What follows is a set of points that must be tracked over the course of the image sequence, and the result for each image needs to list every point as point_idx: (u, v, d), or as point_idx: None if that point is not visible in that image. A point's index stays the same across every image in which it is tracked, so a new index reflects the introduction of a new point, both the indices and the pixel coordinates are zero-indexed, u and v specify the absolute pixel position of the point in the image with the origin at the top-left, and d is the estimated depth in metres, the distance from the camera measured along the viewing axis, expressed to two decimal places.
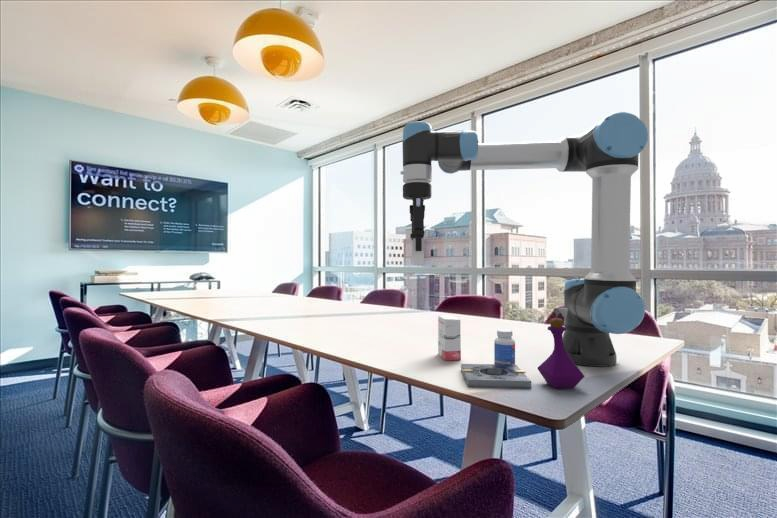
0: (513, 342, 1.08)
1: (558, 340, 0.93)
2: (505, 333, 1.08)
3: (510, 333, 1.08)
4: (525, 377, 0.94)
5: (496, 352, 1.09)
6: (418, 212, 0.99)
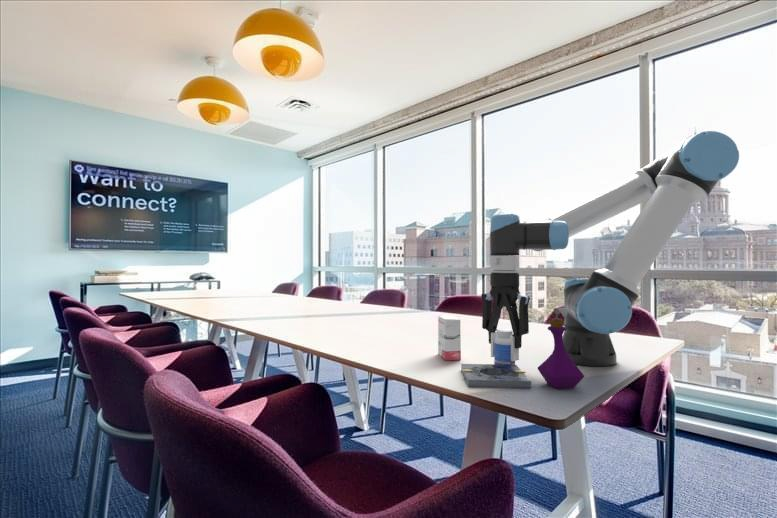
0: None
1: (558, 340, 0.93)
2: (505, 333, 1.08)
3: (510, 333, 1.08)
4: (525, 377, 0.94)
5: (496, 352, 1.09)
6: (525, 311, 1.05)
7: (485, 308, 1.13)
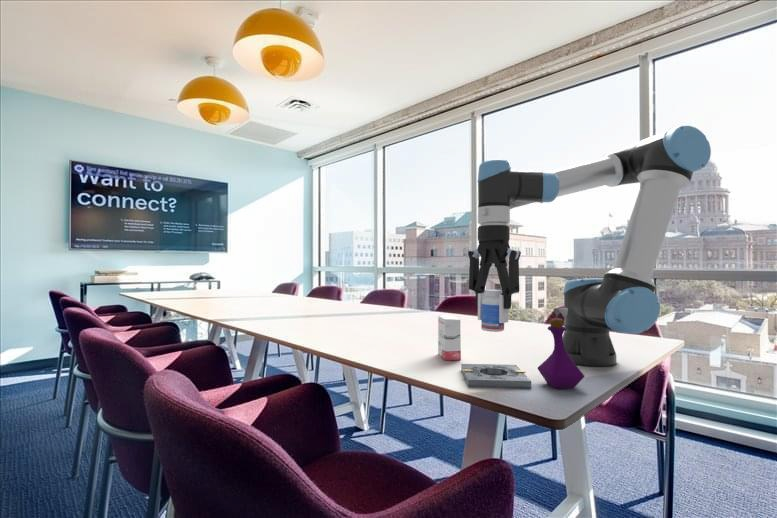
0: None
1: (558, 340, 0.93)
2: (493, 292, 0.97)
3: (499, 292, 0.97)
4: (525, 377, 0.94)
5: (483, 313, 0.98)
6: (516, 267, 0.94)
7: (472, 267, 1.02)
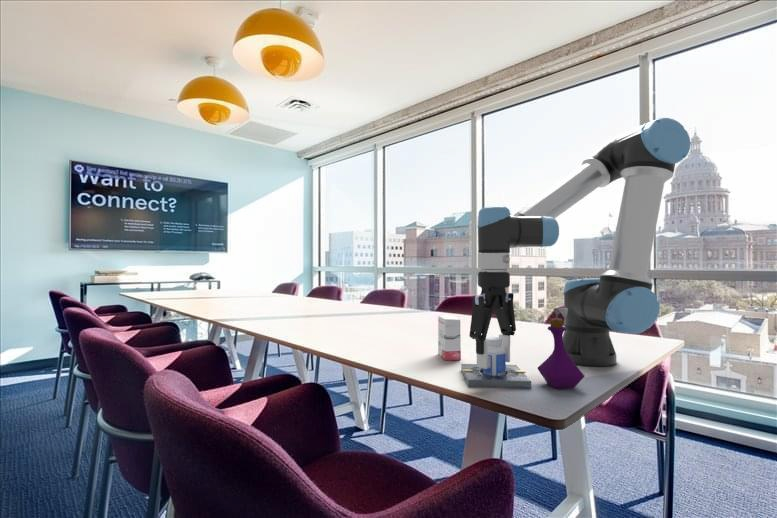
0: None
1: (558, 340, 0.93)
2: (501, 340, 0.99)
3: None
4: (525, 377, 0.94)
5: (500, 364, 0.96)
6: None
7: (482, 314, 0.94)
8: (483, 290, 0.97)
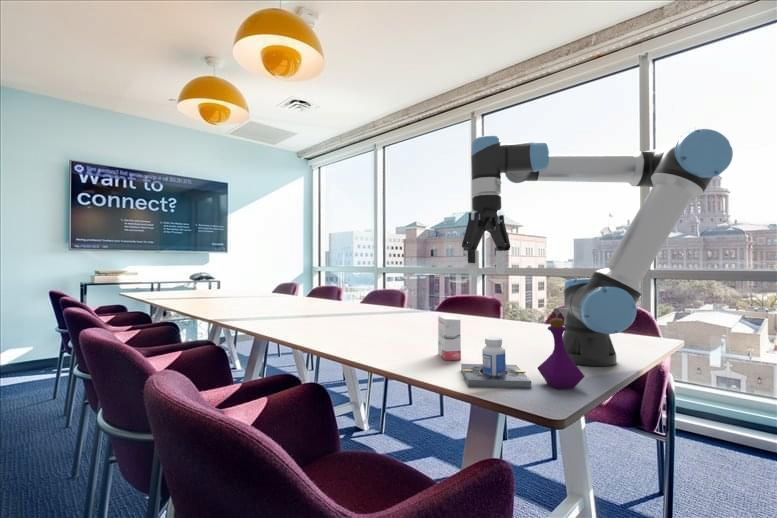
0: None
1: (558, 340, 0.93)
2: (501, 340, 0.99)
3: None
4: (525, 377, 0.94)
5: (500, 364, 0.96)
6: None
7: (476, 227, 1.03)
8: (478, 212, 1.07)
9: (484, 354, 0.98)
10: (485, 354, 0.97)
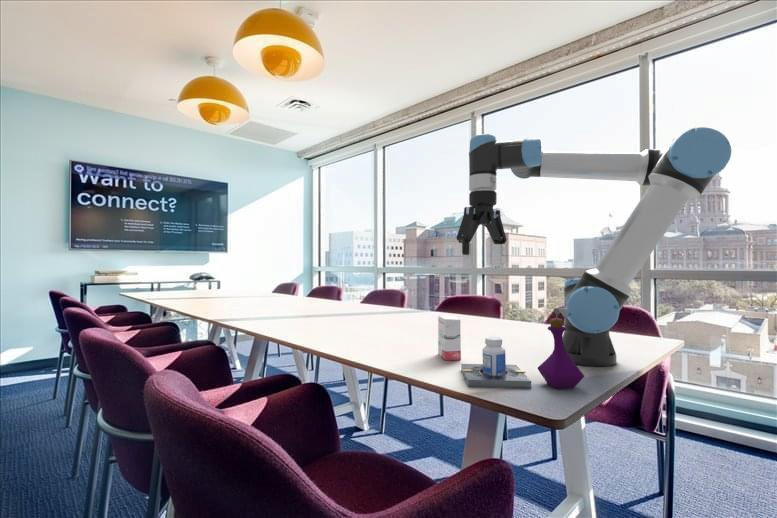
0: None
1: (558, 340, 0.93)
2: None
3: None
4: (525, 377, 0.94)
5: (500, 364, 0.96)
6: None
7: (471, 221, 1.09)
8: (473, 206, 1.13)
9: (484, 354, 0.98)
10: (485, 353, 0.97)
